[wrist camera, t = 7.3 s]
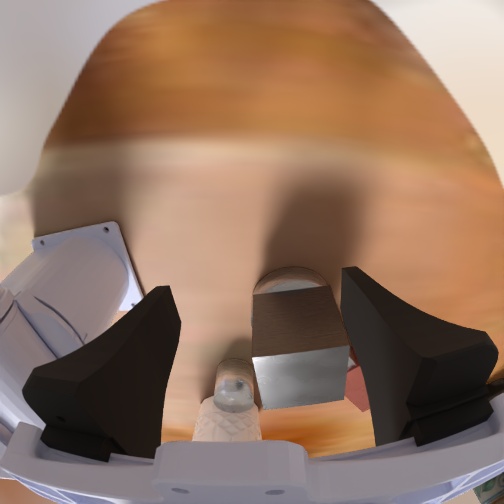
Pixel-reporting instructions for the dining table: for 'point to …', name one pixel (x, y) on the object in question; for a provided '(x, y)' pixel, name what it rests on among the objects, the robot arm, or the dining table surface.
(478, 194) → the dining table surface
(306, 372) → the brushed steel cube
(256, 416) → the white cup
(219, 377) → the socket
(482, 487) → the beer stein
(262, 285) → the ratchet
